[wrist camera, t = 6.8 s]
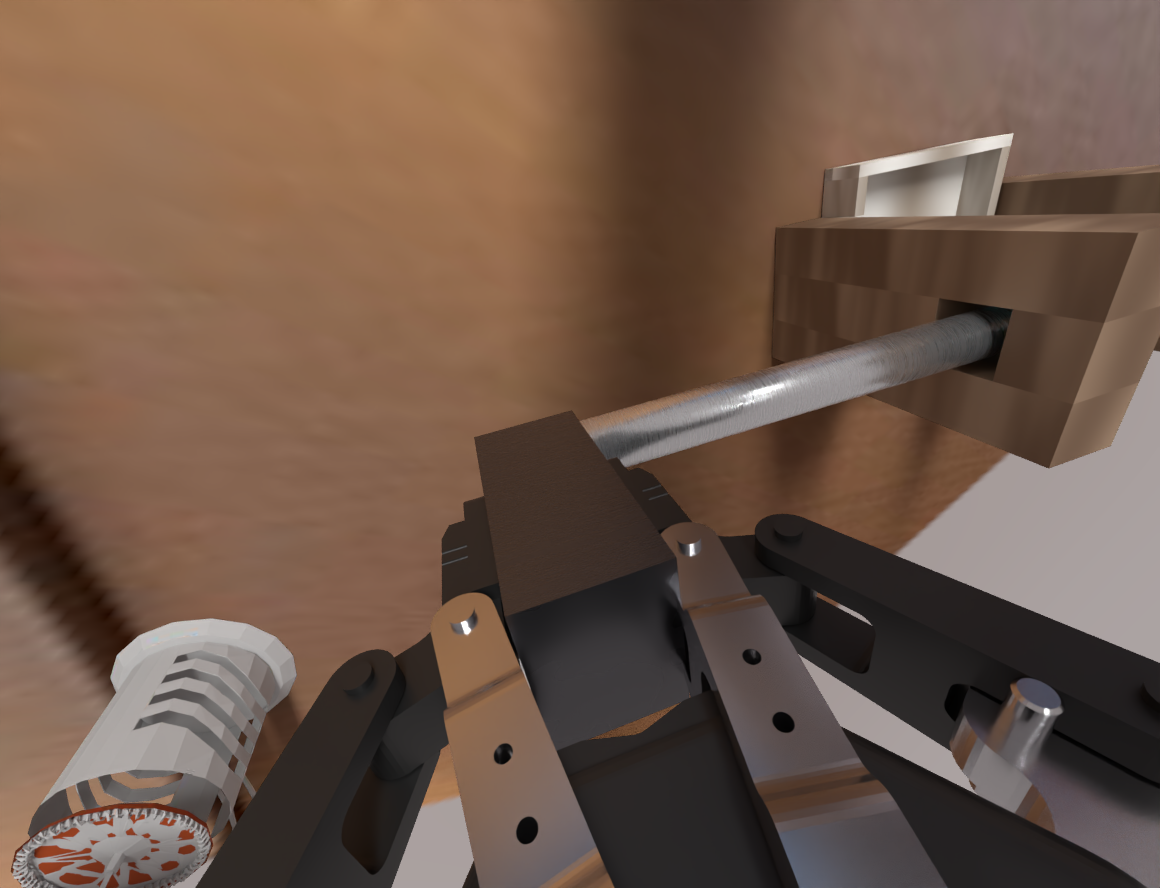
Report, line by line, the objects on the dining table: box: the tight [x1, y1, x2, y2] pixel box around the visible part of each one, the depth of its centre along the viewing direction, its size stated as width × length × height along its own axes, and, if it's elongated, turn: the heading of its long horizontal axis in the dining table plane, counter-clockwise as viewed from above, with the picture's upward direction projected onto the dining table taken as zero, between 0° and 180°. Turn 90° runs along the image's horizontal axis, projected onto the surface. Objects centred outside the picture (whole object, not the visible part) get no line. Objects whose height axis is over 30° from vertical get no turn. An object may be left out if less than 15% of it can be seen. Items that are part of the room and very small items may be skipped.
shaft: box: [474, 306, 1013, 751], centre depth 14 cm, size 26×4×9 cm, turn 100°
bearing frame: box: [772, 133, 1160, 468], centre depth 23 cm, size 16×13×16 cm
